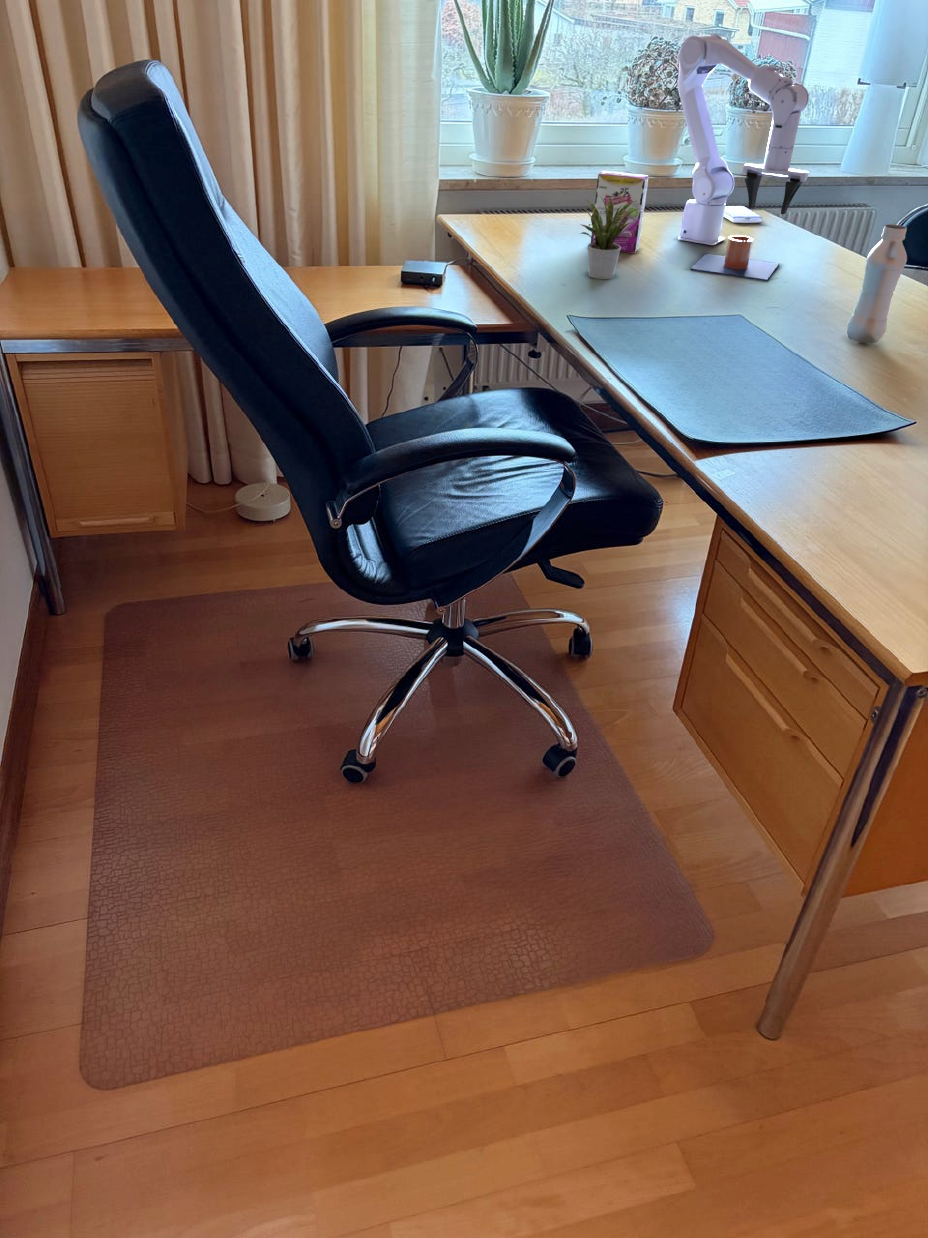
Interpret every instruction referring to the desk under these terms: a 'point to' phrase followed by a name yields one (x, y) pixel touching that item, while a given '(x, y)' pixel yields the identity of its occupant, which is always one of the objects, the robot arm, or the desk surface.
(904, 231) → the plastic bottle
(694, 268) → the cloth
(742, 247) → the cup
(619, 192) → the candy bar box
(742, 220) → the hard drive
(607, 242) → the house plant
